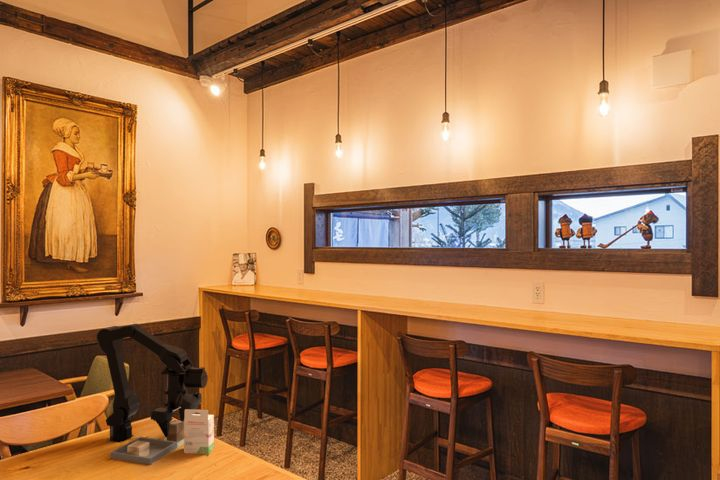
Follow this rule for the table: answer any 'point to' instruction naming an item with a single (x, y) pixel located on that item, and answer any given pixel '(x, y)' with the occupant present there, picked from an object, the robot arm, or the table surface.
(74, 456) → the table surface
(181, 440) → the sage tile
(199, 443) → the ink box
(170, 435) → the walnut box
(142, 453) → the beech box
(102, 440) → the table surface
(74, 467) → the table surface
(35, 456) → the table surface
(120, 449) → the grey tray
